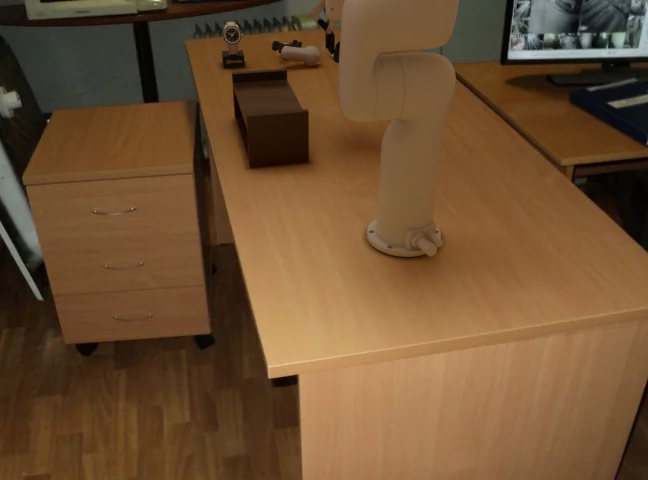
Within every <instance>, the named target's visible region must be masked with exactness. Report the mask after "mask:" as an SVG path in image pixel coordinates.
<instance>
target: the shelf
mask: <svg viewBox="0 0 648 480" xmlns="http://www.w3.org/2000/svg"><path fill="white" fill-rule="evenodd" d="M231 82H232V83H231V85H232V97H233V98H232V99H233V114H234V121H235V125H236V128H237V130H238V135H239V138H240V141H241V145H242V147H243V151H244V154H245V157H246V161H247V164H248V167H249V169H257V168H267V167H278V166H289V165H300V164H301V165H302V164H309V163H310V141H309V140H310V121H309V120H310V118H309V117H310V113H309V112H310V111H309V109H307V108H302V105H301V103H300V101H299V99H298V97H297V96H296V93H295V92H294V89H293V88H292V86H291V83H290V82H289V79H288V69H287V68H286V67H285V68H274V69H273V68H272V69H258V70H257V69H256V70H244V71H243V70H242V71H231Z"/></svg>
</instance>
